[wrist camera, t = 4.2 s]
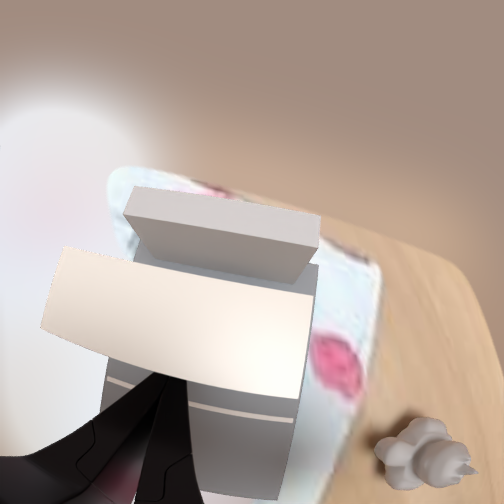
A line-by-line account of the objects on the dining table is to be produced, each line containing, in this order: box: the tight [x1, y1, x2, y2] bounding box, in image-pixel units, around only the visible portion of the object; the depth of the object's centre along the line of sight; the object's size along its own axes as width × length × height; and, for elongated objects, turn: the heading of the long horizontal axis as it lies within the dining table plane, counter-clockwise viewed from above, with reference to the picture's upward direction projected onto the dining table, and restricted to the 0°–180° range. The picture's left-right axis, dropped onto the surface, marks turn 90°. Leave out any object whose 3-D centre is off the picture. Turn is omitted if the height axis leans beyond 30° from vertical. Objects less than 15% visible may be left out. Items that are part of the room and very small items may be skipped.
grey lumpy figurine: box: [374, 417, 478, 490], centre depth 11 cm, size 5×7×8 cm
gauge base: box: [100, 186, 321, 500], centre depth 13 cm, size 16×12×7 cm
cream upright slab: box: [40, 246, 313, 399], centre depth 11 cm, size 4×10×10 cm, turn 80°
